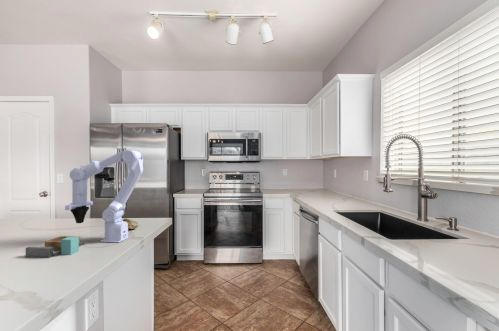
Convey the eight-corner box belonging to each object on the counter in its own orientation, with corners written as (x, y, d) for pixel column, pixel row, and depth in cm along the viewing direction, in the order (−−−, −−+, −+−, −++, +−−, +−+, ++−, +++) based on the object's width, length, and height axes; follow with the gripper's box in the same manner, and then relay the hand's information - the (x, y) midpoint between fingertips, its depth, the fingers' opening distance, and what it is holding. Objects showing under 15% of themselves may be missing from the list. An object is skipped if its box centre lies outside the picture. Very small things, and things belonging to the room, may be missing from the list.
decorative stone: (137, 216, 147) (140, 224, 135) (137, 223, 148) (140, 232, 135) (119, 217, 142) (120, 226, 130) (119, 225, 143) (120, 234, 130)
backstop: (84, 244, 110) (84, 236, 110) (52, 257, 93) (52, 248, 93) (59, 243, 111) (59, 235, 111) (23, 256, 94) (23, 247, 94)
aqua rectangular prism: (78, 251, 101) (78, 236, 101) (70, 255, 97) (70, 239, 97) (69, 251, 101) (69, 236, 101) (61, 254, 97) (61, 239, 97)
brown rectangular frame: (79, 244, 109) (79, 236, 109) (64, 250, 101) (64, 242, 101) (60, 243, 110) (60, 236, 110) (44, 250, 102) (44, 241, 102)
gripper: (83, 192, 122) (83, 219, 122) (58, 195, 108) (58, 226, 108) (96, 192, 122) (96, 219, 122) (73, 195, 107) (73, 226, 107)
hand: (79, 222), depth 115 cm, fingers closed
